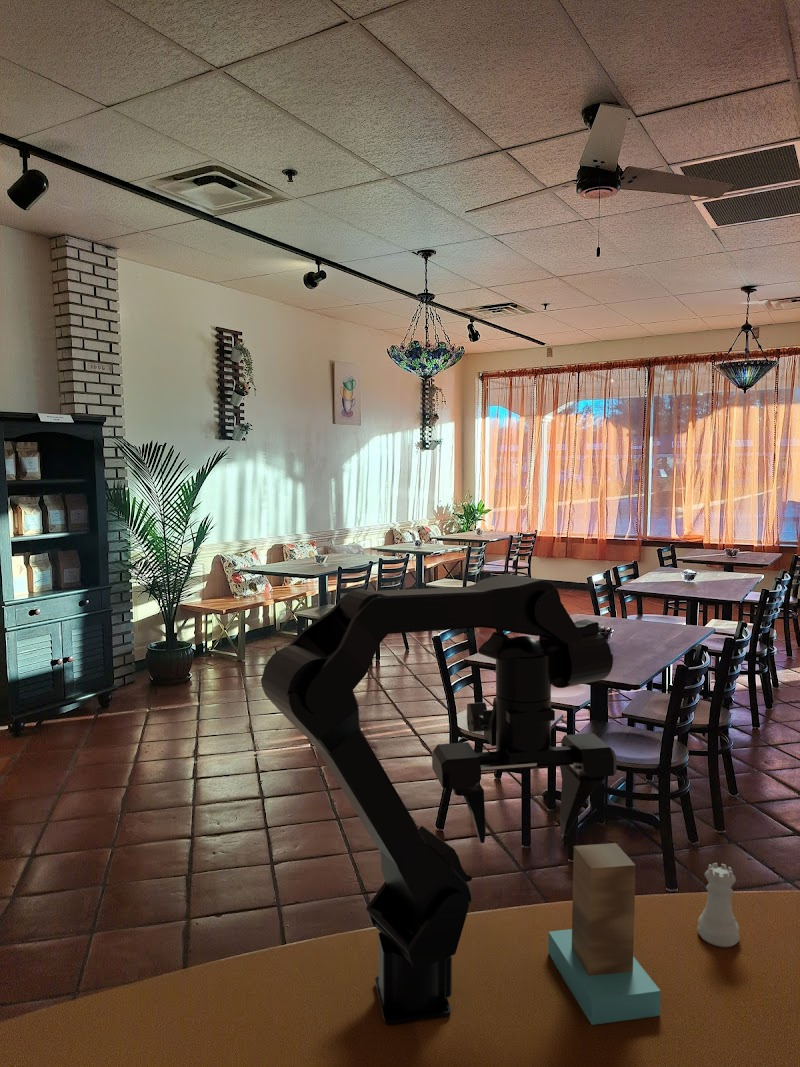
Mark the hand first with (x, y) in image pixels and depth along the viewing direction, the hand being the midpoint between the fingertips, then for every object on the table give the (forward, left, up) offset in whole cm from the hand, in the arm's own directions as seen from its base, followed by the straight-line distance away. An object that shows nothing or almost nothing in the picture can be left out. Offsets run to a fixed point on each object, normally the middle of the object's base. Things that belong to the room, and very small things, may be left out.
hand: (523, 837), depth 82 cm
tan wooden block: (+6, -6, -11) cm, 14 cm away
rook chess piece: (+23, -1, -13) cm, 27 cm away
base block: (+6, -6, -13) cm, 16 cm away
